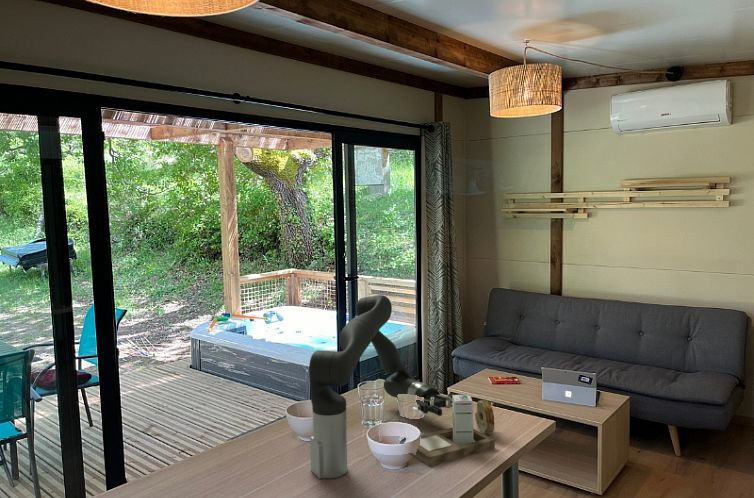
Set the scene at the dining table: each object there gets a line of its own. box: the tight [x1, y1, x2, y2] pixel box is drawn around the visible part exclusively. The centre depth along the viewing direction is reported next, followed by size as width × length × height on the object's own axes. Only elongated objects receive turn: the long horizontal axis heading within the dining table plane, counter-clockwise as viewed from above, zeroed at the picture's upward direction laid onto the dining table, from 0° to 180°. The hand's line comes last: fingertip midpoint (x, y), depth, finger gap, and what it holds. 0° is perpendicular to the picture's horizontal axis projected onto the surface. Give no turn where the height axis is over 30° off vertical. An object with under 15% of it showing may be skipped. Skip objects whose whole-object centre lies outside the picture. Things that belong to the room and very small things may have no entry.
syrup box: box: [451, 394, 474, 446], centre depth 171 cm, size 6×6×14 cm
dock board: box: [414, 427, 496, 467], centre depth 169 cm, size 24×14×3 cm, turn 119°
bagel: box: [474, 399, 495, 435], centre depth 181 cm, size 10×4×10 cm, turn 9°
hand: (452, 410), depth 176 cm, fingers open, 8 cm apart
